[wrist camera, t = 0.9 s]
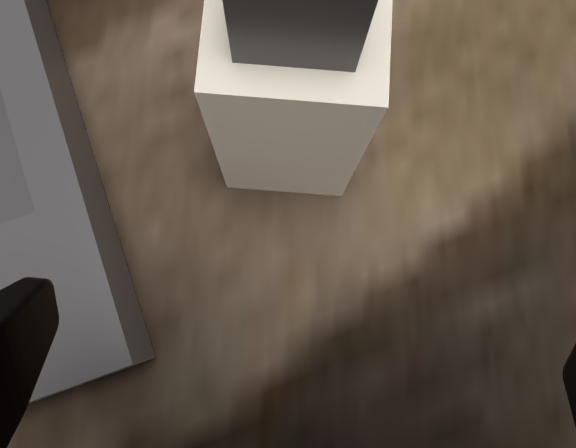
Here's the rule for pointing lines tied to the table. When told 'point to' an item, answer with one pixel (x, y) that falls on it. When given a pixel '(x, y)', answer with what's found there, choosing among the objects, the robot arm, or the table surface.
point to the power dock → (60, 210)
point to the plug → (293, 89)
